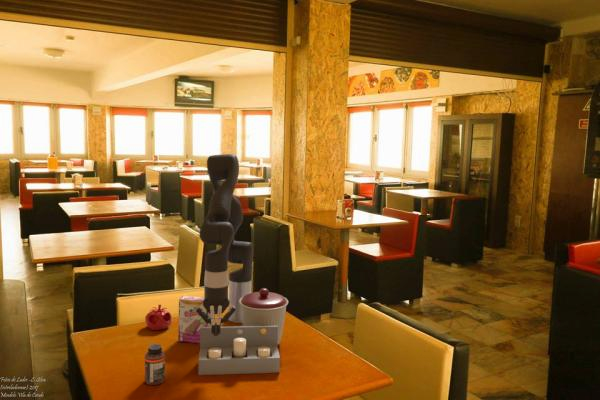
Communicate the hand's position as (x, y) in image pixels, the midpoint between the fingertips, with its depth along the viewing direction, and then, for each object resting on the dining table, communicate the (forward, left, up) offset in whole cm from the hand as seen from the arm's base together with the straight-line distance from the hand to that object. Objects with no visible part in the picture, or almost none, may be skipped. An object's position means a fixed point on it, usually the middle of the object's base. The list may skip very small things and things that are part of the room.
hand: (215, 334), depth 158 cm
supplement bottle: (+7, -18, -12) cm, 23 cm away
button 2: (0, +16, -10) cm, 19 cm away
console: (-1, +8, -12) cm, 14 cm away
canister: (-19, +17, -12) cm, 28 cm away
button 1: (0, 0, -10) cm, 10 cm away
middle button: (0, +8, -7) cm, 10 cm away
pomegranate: (-37, -23, -12) cm, 46 cm away
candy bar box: (-23, -8, -12) cm, 28 cm away
